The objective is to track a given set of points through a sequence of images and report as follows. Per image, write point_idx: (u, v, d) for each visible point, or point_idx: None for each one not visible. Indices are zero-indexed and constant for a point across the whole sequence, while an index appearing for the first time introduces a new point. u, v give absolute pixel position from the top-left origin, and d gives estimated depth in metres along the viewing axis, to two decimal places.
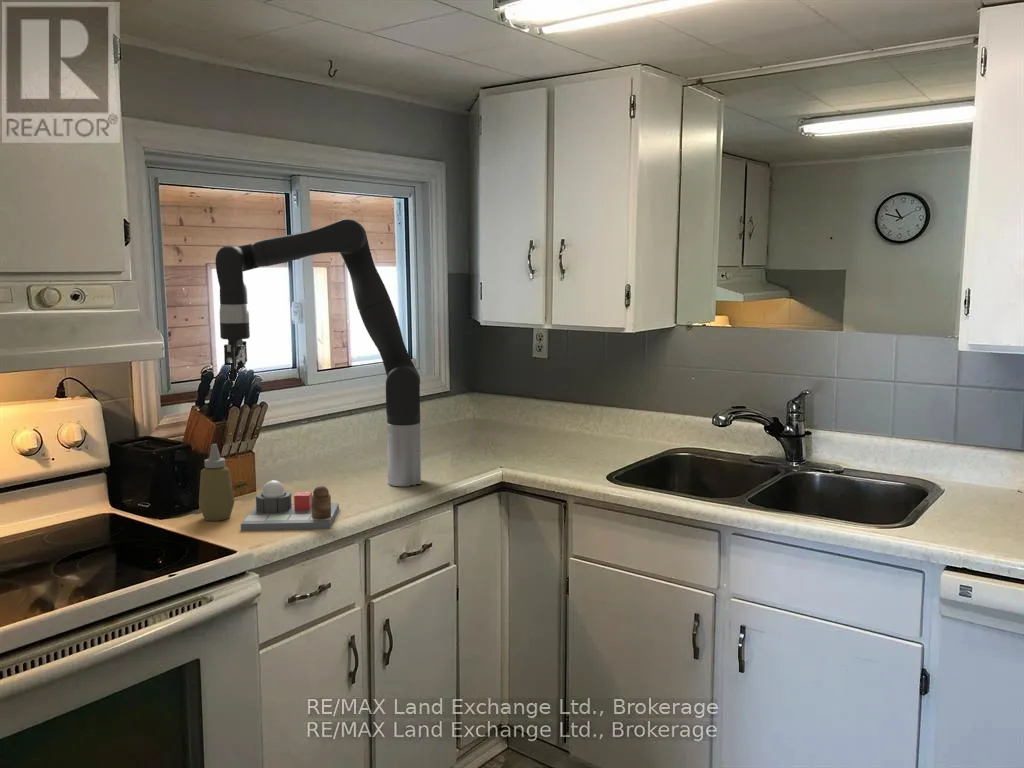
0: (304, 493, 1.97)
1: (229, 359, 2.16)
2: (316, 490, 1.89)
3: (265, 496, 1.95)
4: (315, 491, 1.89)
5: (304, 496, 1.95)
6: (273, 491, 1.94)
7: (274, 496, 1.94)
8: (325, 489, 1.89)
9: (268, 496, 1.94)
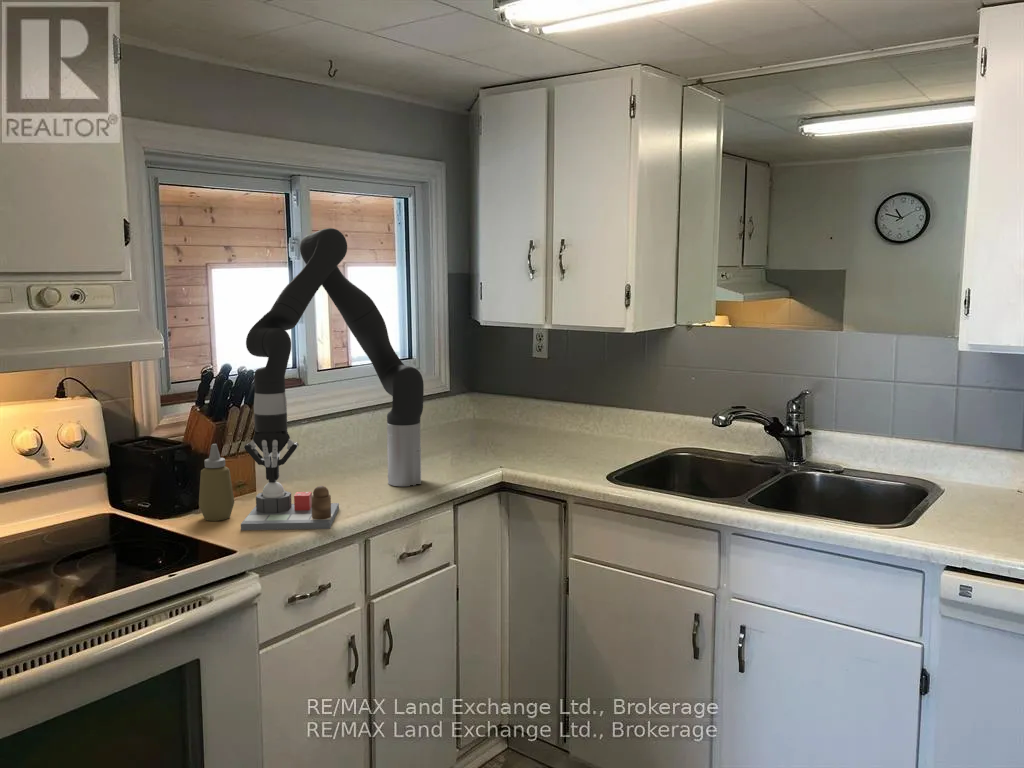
0: (304, 493, 1.97)
1: (277, 457, 1.95)
2: (316, 490, 1.89)
3: (265, 497, 1.95)
4: (315, 491, 1.89)
5: (304, 496, 1.95)
6: (273, 492, 1.94)
7: (274, 497, 1.94)
8: (325, 489, 1.89)
9: (268, 497, 1.94)
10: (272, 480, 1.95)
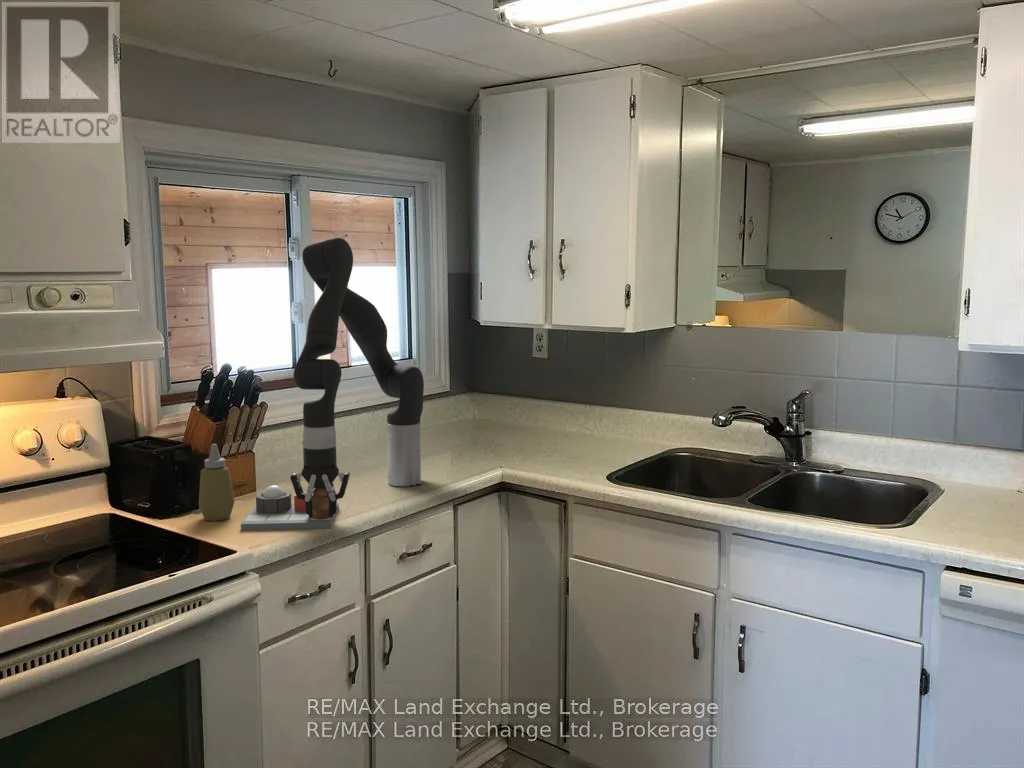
0: None
1: (333, 490, 1.89)
2: (316, 490, 1.89)
3: None
4: (315, 491, 1.89)
5: None
6: (273, 496, 1.94)
7: None
8: (325, 489, 1.89)
9: None
10: (330, 514, 1.90)
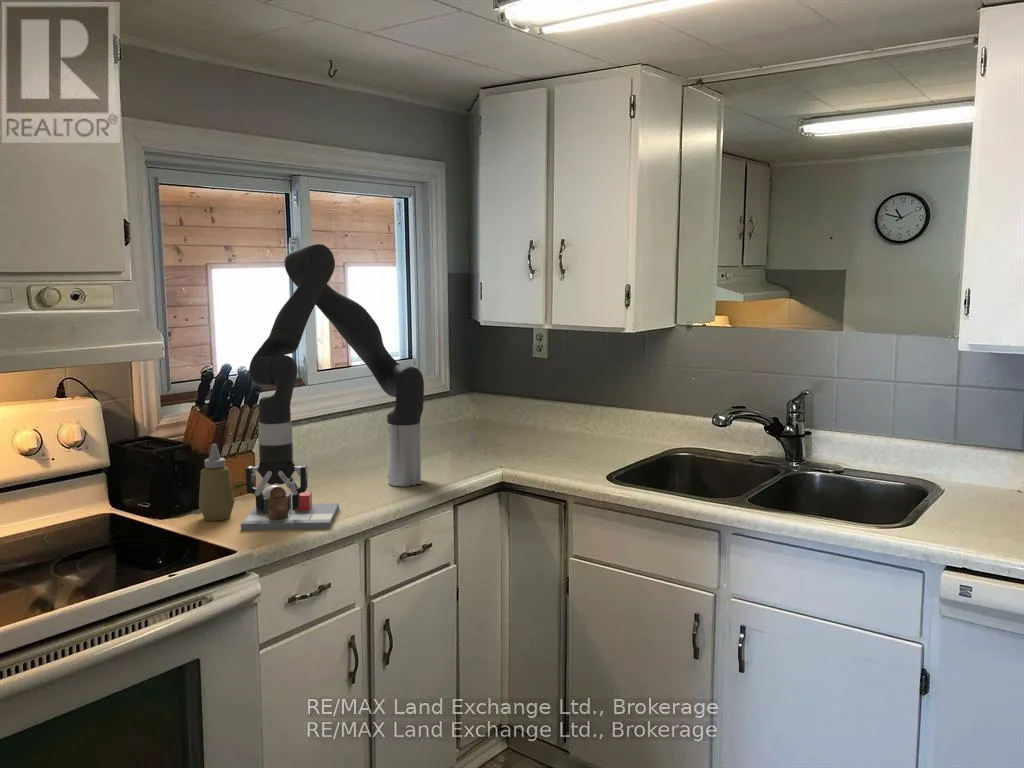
0: (304, 493, 1.97)
1: (293, 484, 1.88)
2: (272, 491, 1.88)
3: None
4: (271, 492, 1.88)
5: (304, 496, 1.95)
6: None
7: None
8: (282, 490, 1.88)
9: None
10: (293, 508, 1.89)
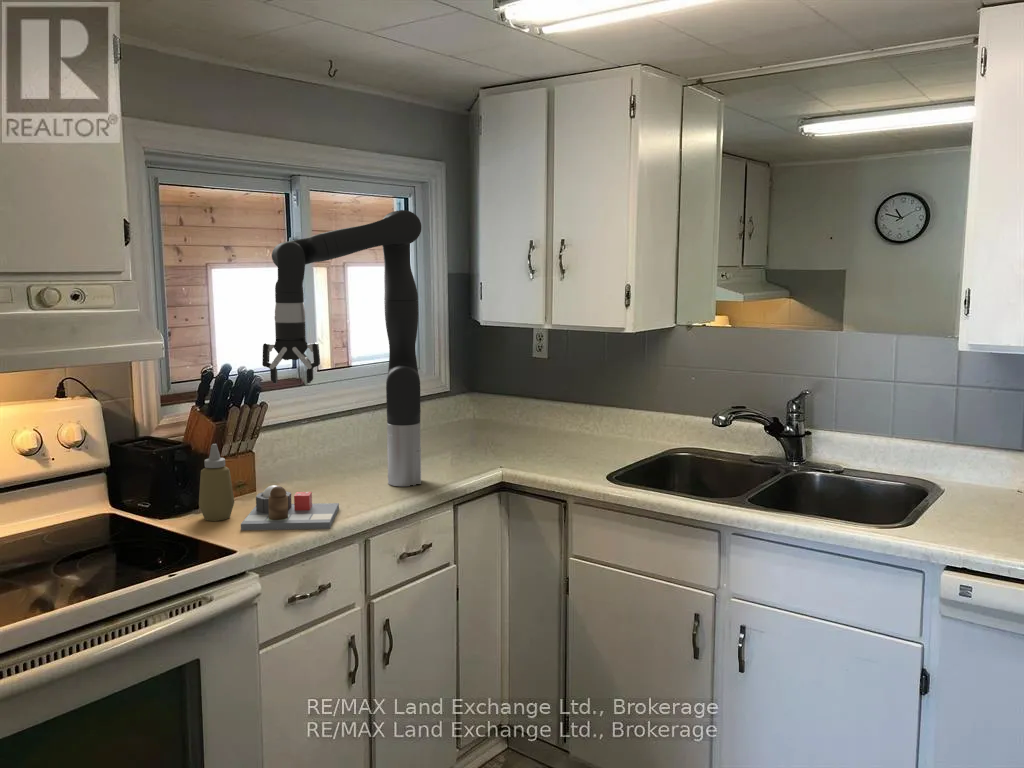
0: (304, 493, 1.97)
1: (307, 359, 2.09)
2: (273, 490, 1.88)
3: None
4: (272, 492, 1.88)
5: (304, 496, 1.95)
6: None
7: None
8: (282, 489, 1.89)
9: None
10: (307, 381, 2.10)
